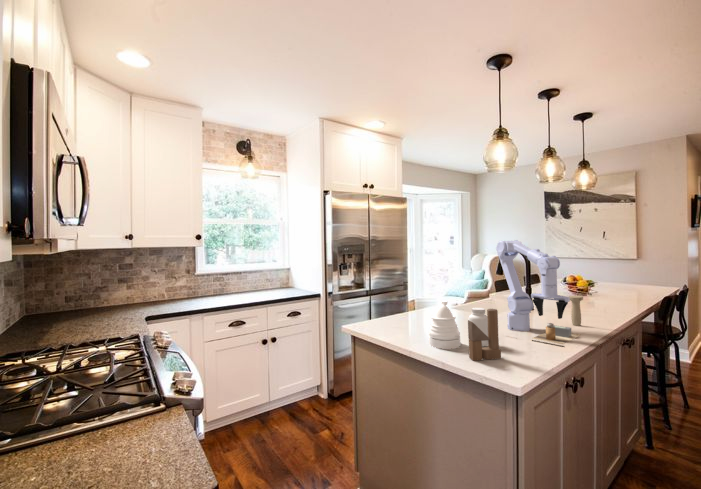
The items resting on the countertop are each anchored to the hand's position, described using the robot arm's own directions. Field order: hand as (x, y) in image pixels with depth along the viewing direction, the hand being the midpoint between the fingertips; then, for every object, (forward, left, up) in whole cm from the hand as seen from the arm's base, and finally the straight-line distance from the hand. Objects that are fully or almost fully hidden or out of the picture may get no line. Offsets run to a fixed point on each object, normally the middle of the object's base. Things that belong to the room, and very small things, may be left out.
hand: (550, 316), depth 141 cm
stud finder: (+5, +6, -9) cm, 12 cm away
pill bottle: (-29, -10, -11) cm, 32 cm away
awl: (0, -1, -9) cm, 9 cm away
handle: (+17, +27, -11) cm, 34 cm away
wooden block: (-28, -28, -11) cm, 41 cm away
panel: (+3, +4, -10) cm, 12 cm away
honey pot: (-43, -13, -11) cm, 46 cm away
